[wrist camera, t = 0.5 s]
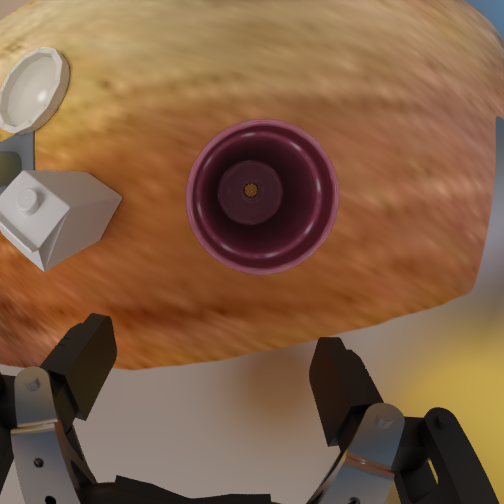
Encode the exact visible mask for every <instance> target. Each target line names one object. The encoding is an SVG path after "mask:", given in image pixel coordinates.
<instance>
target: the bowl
mask: <svg viewBox="0 0 504 504" xmlns="http://www.w3.org/2000/svg"><path fill="white" fill-rule="evenodd" d="M69 78H70V69H69V65H68V62H67V60H66V59H65V58H64V57H63V55H62V54H61V53H60V52H59V51H58V50H56V49H55V48H47V47H40V48H38V49H36V50H34V51H32V52H30V53H28V54H26V55H24V56H23V57H22V58H21V59H20V60H19V62H18V63H17V64H16V65H15V66H14V67H13V68H12V69H11V71H10V72H9V73H8V75H7V77H6V79H5V81H4V83H3V85H2V87H1V89H0V127H1V129H3V130H5V131H8V132H10V133H13V134H18V135H23V134H26V133H29V132H32V131H36V130H37V129H39V128H41V127H42V126H43V125H44V124H45V123H46V122H47V121H48V120H49V119H50V118H51V117H52V116H53V115H54V113H55V112H56V111H57V109H58V107H59V106H60V104H61V102H62V100H63V98H64V96H65V94H66V91H67V88H68V84H69Z"/></svg>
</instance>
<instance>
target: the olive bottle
mask: <svg viewBox="0 0 504 504" xmlns="http://www.w3.org/2000/svg"><path fill="white" fill-rule="evenodd" d="M21 169H22V161H21V158H20V155H19V154H18V153H17V152H11V151H0V187H3V186H9V185H10V184H11V183H12V181H13V180H14V179H15V178H16V177H17V176H18V175H19V174H20V173H21Z"/></svg>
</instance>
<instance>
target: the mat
mask: <svg viewBox="0 0 504 504" xmlns="http://www.w3.org/2000/svg"><path fill="white" fill-rule="evenodd" d="M34 133H35V131H32V132H29V133H26V134H23V135H18V134H16V135H14V136H12V137H10V138H8V139H6V140H4V141H2V142H0V151H11V152H17V153H18V154H19V155H20V158H21V161H22V169H21V172H22V171H24V170H35V159H34ZM7 187H8V186H3V187H0V195H1V194H2V193H3V192H4V191H5V189H6V188H7Z"/></svg>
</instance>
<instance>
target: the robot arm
mask: <svg viewBox="0 0 504 504" xmlns="http://www.w3.org/2000/svg"><path fill="white" fill-rule="evenodd" d="M116 356H117V347H116V341H115V336H114V331H113V325H112V320H111V318H110V317H109V316H105V315H100V314H95V313H92V314H90V315H89V317H88V318H87V319H86V320H85V321H84V323H79V324H77V325H76V326H74V327H72V328H71V329H69V331H68V332H67V333H66V334H65V335H64V337H63V338H62V339H61V340H60V341H59V343H58V345H56V346H55V348H54V349H53V350H52V351H51V353H50V354H49V355H48V357H47V358H46V359H45V360H44V362H43V363H42V364H41V366H40V367H29V368H26V369H24V370H22V371H21V372H19V373H18V375H17V376H9V375H2V374H1V373H0V494H1V491H2V488H3V485H4V482H5V480H6V477H7V474H8V472H9V469H10V467H11V464H12V462H13V459H14V460H15V465H16V470H17V474H18V478H19V482H20V487H21V490H22V494H23V497H24V501H25V503H26V504H280V503H276V502H271V496H270V494H228V495H221V496H213V497H205V498H195V499H193V498H187V497H184V496H181V495H178V494H176V493H173V492H170V491H168V490H165V489H163V488H160V487H158V486H156V485H154V484H150V483H146V482H141V481H137V480H133V479H129V478H126V477H122V476H118V475H117V476H116V480H115V483H114V482H107V483H98V482H97V481H96V479H95V477H94V475H93V474H92V472H91V471H90V469H89V467H88V464H87V462H86V460H85V457H84V454H83V452H82V449H81V446H80V443H79V440H78V437H77V435H76V431H75V428H74V425H73V424H72V423H73V421H74V419H75V417H76V418H78V419H81V420H84V421H86V419H87V417H88V415H89V413H90V411H91V409H92V407H93V405H94V402H95V400H96V398H97V396H98V394H99V392H100V390H101V388H102V386H103V384H104V382H105V380H106V378H107V376H108V374H109V372H110V371H111V369H112V367H113V365H114V363H115V360H116ZM309 380H310V384H311V388H312V391H313V395H314V398H315V402H316V405H317V409H318V412H319V416H320V420H321V423H322V426H323V430H324V434H325V438H326V441H327V444H328V447H329V446H337V445H339V448H340V453H339V454H338V456H337V457H336V459H335V461H334V462H333V464H332V466H331V467H330V469H329V471H328V472H327V474H326V476H325V477H324V479H323V480H322V482H321V484H320V485H319V487H318V488H317V490H316V491H315V493H314V494H313V495H312V496H311V498H310V499H309V500H308V502H307V503H306V504H384V503H385V500H386V498H387V495H388V493H389V490H390V488H391V485H392V483H393V480H394V482H395V485H396V488H397V491H398V494H399V498H400V501H401V504H499V502H498V499H497V497H496V495H495V493H494V490H493V488H492V486H491V484H490V481H489V479H488V477H487V475H486V473H485V471H484V469H483V467H482V465H481V463H480V461H479V459H478V457H477V455H476V453H475V451H474V449H473V447H472V446H471V444H470V442H469V440H468V438H467V436H466V435H465V433H464V431H463V429H462V428H461V426H460V424H459V422H458V421H457V419H456V417H455V416H454V414H452V413H451V412H450V411H449V410H447V409H444V408H440V407H437V408H432V409H430V410H429V411H428V412H427V414H426V415H425V416H424V418H418V417H405V416H403V414H402V412H401V411H400V410H399V409H398V408H396V407H395V406H393V405H391V404H387V403H384V402H383V400H382V398H381V396H380V394H379V392H378V390H377V388H376V386H375V385H374V382H373V381H372V379H371V377H370V376H369V373H368V371H367V369H365V366H364V364H363V362H362V360H361V358H360V357H359V356H358V355H357V354H355V353H354V352H353V351H352V350H346V348H345V346H344V344H343V342H342V341H341V339H340V338H339V337H320V338H319V340H318V343H317V346H316V349H315V353H314V356H313V359H312V363H311V366H310V370H309ZM429 460H431V462H432V464H433V467H434V469H435V471H436V474H437V476H438V485H437V483H436V480H435V478H434V475H433V473H432V470H431V468H430V465H429V463H428V461H429Z"/></svg>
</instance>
